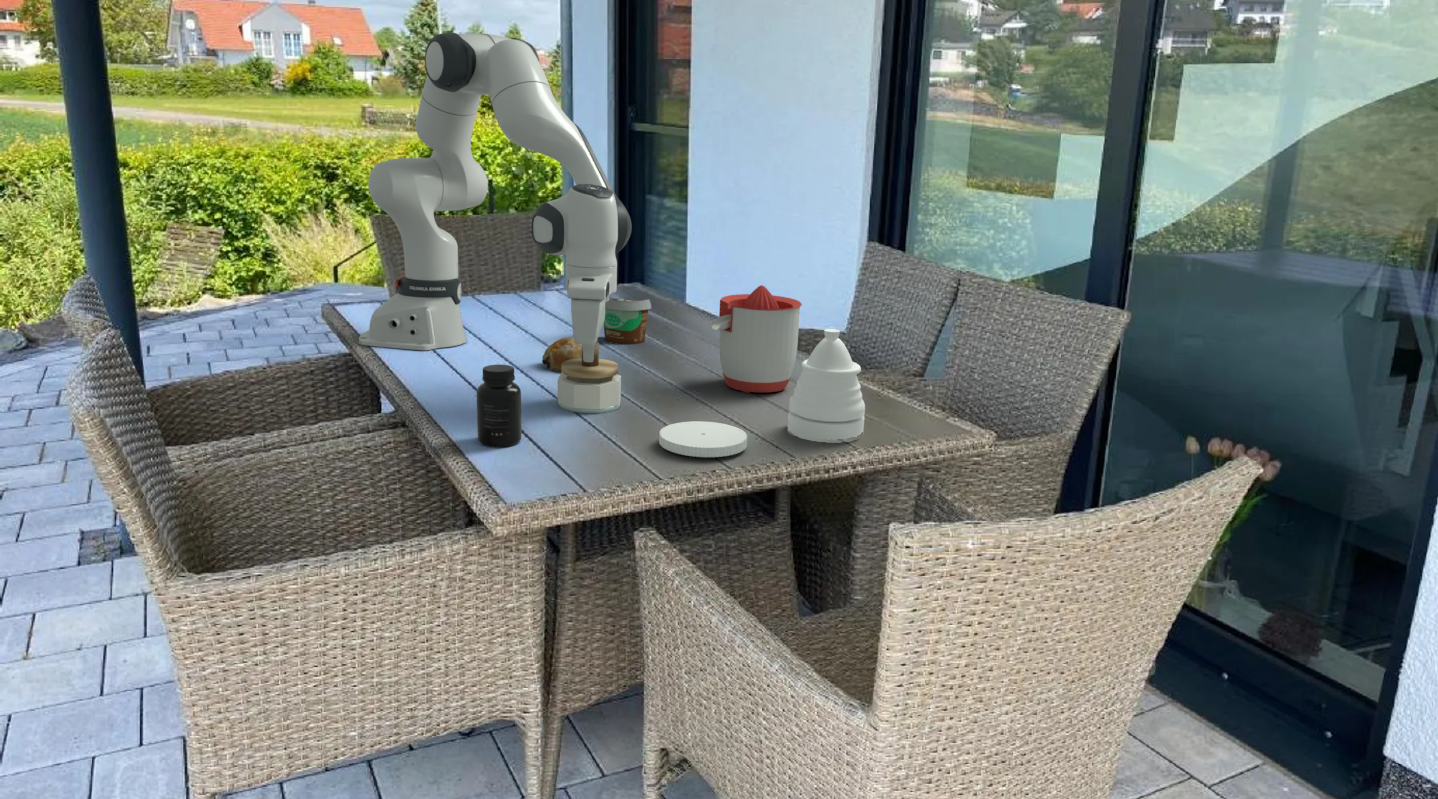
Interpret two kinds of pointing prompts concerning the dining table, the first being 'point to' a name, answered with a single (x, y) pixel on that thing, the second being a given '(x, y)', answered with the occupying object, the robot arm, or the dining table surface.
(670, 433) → the plastic lid
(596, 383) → the octagonal jar
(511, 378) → the supplement bottle
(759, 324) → the citrus juicer
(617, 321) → the food container
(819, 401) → the honey pot
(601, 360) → the wooden lid
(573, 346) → the bread roll
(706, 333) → the dining table surface
